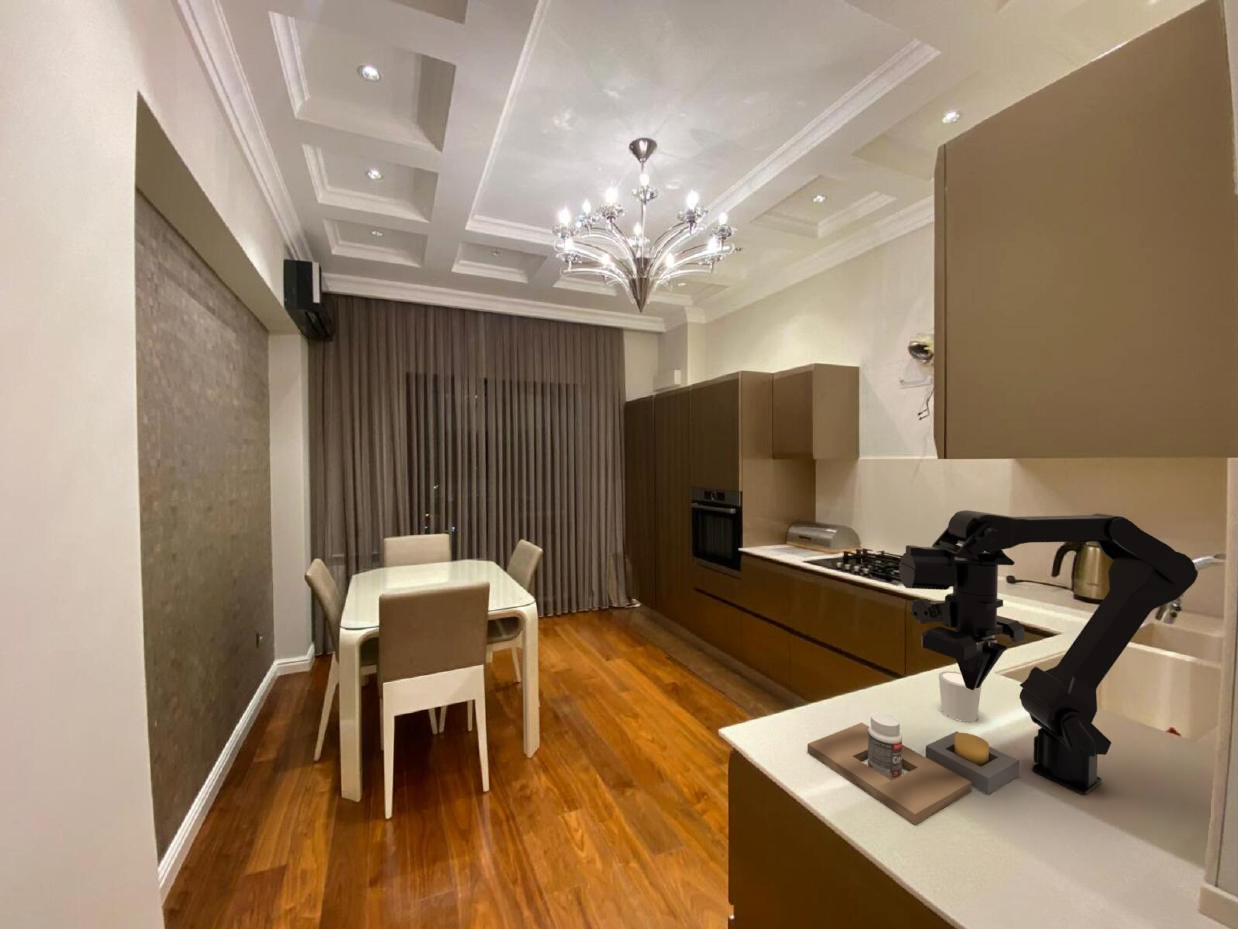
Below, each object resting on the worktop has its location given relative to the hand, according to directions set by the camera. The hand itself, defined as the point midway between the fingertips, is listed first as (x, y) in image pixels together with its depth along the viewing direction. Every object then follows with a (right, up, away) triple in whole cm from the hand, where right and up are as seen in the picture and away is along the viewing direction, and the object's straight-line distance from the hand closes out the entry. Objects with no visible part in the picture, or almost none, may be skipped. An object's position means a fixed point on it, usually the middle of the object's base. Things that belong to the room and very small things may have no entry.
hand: (972, 688), depth 78 cm
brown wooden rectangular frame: (-14, -13, 0) cm, 19 cm away
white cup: (+9, -13, +17) cm, 23 cm away
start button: (0, -11, 0) cm, 11 cm away
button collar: (0, -13, 0) cm, 13 cm away
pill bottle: (-14, -13, 0) cm, 19 cm away
